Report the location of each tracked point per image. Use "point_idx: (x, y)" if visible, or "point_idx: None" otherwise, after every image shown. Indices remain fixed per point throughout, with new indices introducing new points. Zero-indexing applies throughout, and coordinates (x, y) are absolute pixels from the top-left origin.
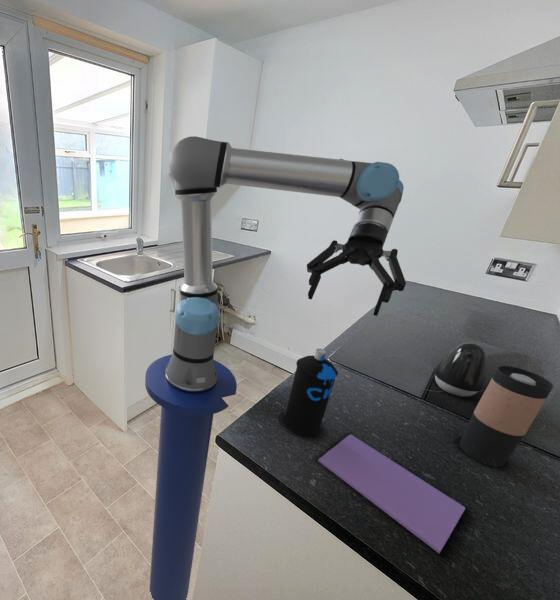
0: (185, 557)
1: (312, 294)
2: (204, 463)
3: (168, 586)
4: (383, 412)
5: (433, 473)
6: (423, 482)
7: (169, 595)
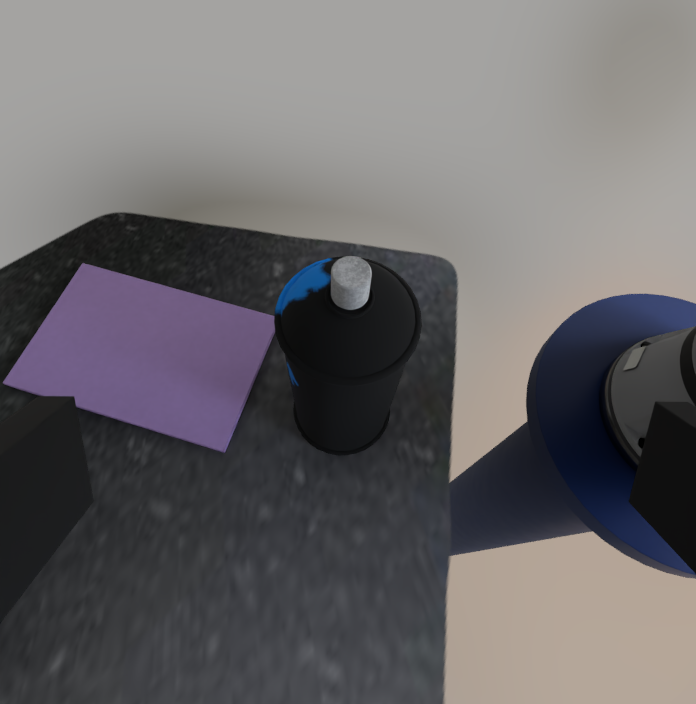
0: None
1: (661, 471)
2: (496, 479)
3: None
4: (123, 677)
5: None
6: None
7: None
